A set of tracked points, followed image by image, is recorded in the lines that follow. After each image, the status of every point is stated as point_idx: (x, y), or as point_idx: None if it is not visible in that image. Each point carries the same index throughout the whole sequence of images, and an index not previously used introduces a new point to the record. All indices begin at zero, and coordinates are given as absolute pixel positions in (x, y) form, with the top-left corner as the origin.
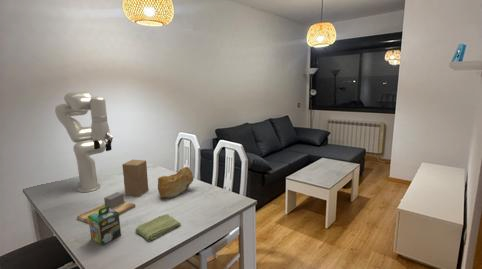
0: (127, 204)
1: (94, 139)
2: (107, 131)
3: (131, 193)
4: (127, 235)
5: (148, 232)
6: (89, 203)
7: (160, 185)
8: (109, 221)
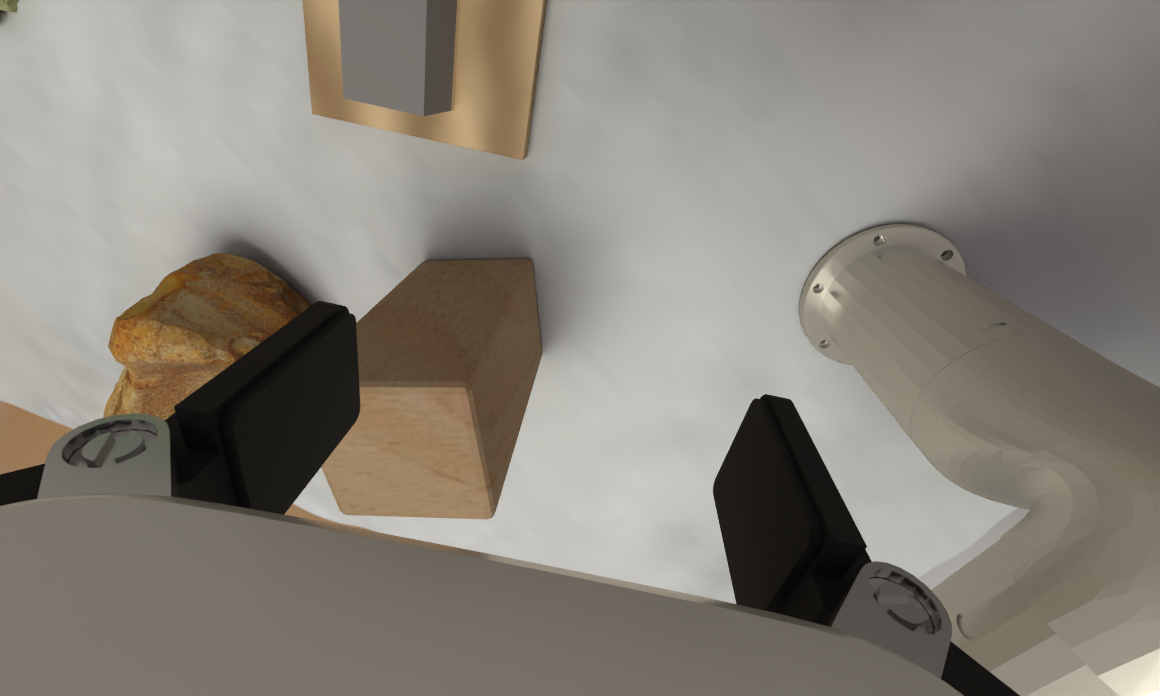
0: None
1: (739, 617)
2: None
3: (476, 264)
4: None
5: None
6: (696, 64)
7: (180, 289)
8: None
